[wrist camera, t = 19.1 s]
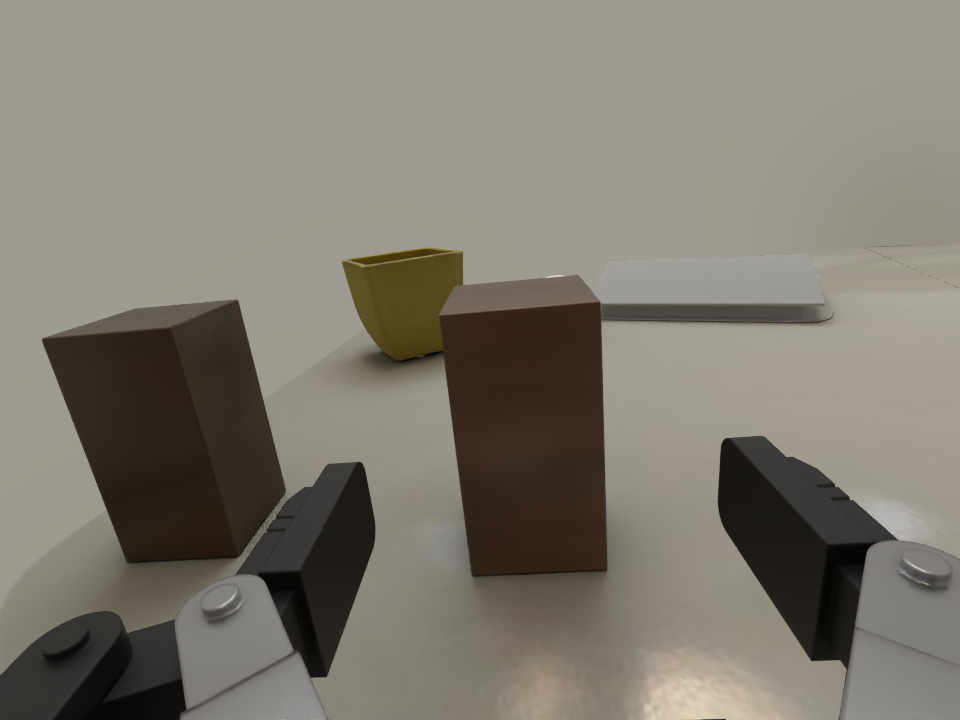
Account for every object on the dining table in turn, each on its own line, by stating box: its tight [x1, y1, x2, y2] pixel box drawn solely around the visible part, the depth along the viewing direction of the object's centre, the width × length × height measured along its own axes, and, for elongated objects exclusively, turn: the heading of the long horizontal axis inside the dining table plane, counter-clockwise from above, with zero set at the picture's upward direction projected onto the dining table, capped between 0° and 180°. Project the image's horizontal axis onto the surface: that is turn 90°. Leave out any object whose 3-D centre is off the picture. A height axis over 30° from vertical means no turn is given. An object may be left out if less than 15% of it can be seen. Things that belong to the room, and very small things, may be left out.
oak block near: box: [42, 300, 286, 562], centre depth 22 cm, size 5×5×10 cm
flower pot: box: [342, 248, 463, 361], centre depth 46 cm, size 9×9×9 cm
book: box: [591, 254, 833, 322], centre depth 54 cm, size 15×23×4 cm, turn 64°
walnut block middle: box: [439, 275, 607, 575], centre depth 19 cm, size 5×5×10 cm
